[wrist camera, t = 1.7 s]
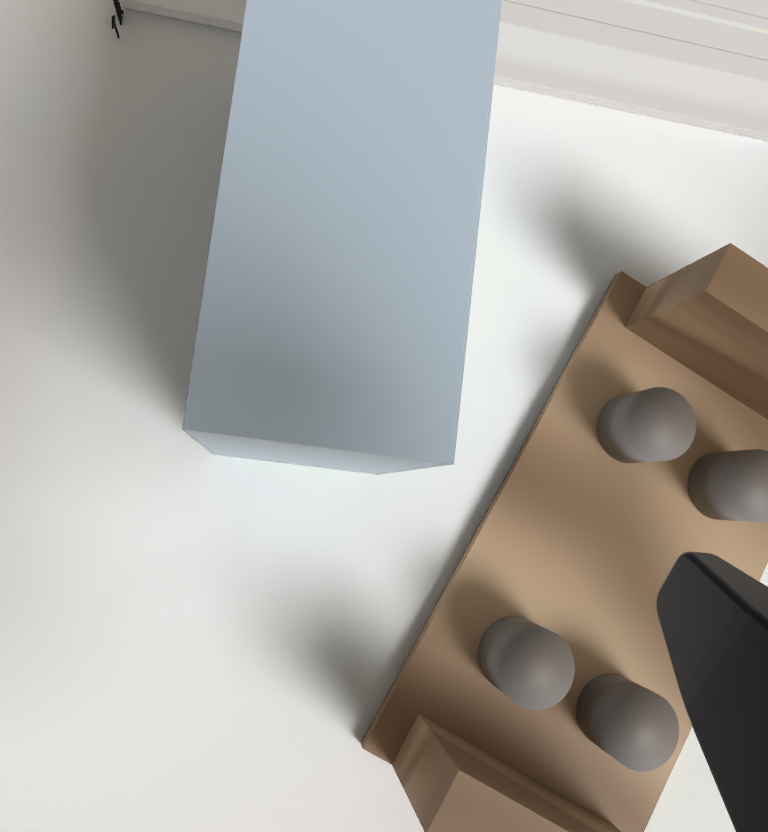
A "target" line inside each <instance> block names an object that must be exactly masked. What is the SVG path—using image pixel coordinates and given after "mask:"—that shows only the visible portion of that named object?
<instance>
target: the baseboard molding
mask: <svg viewBox="0 0 768 832" xmlns="http://www.w3.org/2000/svg"><path fill="white" fill-rule="evenodd" d="M113 1H114V5H115V9H116V12H117V16H118V17H119V18H118V19H119V21H120V25H121V24H122V18H123V16H122V15H121V14H123V10H121V7H120V3H119V2H118V0H113ZM246 2H247V0H123V4H124V8H128V9H133V10H138V11H143V12H148V13H152V14H157V15H162V16H167V17H172V18H176V19H181V20H186V21H191V22H196V23H201V24H205V25H210V26H215V27H220V28H225V29H229V30H234V31H239V32H242V29H243V22H244V16H245V9H246ZM115 17H116V15H113V16H112V29H114V27H115V30H116V33H117V37H118V38H120V37H119V34H118V30H117V27H116V24H115ZM493 84H494V85H499V86H504V87H509V88H514V89H518V90H523V91H528V92H533V93H538V94H542V95H547V96H552V97H557V98H562V99H567V100H571V101H576V102H581V103H586V104H591V105H595V106H600V107H605V108H610V109H615V110H620V111H624V112H629V113H634V114H639V115H644V116H648V117H653V118H658V119H663V120H668V121H672V122H677V123H682V124H687V125H692V126H697V127H701V128H706V129H711V130H716V131H721V132H725V133H730V134H735V135H740V136H745V137H750V138H754V139H759V140H764V141H768V0H502V5H501V15H500V24H499V34H498V44H497V53H496V63H495V72H494V82H493Z"/></svg>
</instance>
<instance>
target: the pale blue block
mask: <svg viewBox="0 0 768 832" xmlns="http://www.w3.org/2000/svg"><path fill="white" fill-rule="evenodd" d="M501 5H502V0H247V2H246V9H245V16H244V22H243V29H242V36H241V42H240V49H239V56H238V62H237V69H236V75H235V82H234V89H233V95H232V102H231V109H230V115H229V122H228V129H227V135H226V142H225V149H224V155H223V162H222V168H221V175H220V182H219V188H218V195H217V202H216V208H215V215H214V222H213V228H212V235H211V242H210V248H209V255H208V261H207V268H206V275H205V281H204V288H203V295H202V301H201V308H200V315H199V321H198V328H197V335H196V341H195V348H194V354H193V361H192V368H191V374H190V381H189V388H188V394H187V401H186V408H185V414H184V421H183V428H182V430H184V431H185V432H186V433H187V434H189V435H190V436H191V437H192V438H194V439H195V440H196V441H197V442H199V443H200V444H201V445H202V446H204V447H205V448H206V449H207V450H208V451H210V452H211V453H212V454H214V455H222V456H231V457H239V458H247V459H255V460H263V461H271V462H279V463H287V464H295V465H304V466H312V467H320V468H328V469H336V470H344V471H352V472H360V473H368V474H377V475H379V474H386V473H393V472H400V471H408V470H415V469H422V468H429V467H436V466H444V465H451V464H454V457H455V448H456V438H457V428H458V419H459V409H460V399H461V390H462V380H463V371H464V361H465V351H466V342H467V332H468V323H469V313H470V303H471V294H472V284H473V274H474V265H475V255H476V246H477V236H478V226H479V217H480V207H481V197H482V188H483V178H484V169H485V159H486V149H487V140H488V130H489V121H490V111H491V101H492V92H493V82H494V72H495V63H496V53H497V44H498V34H499V24H500V15H501Z"/></svg>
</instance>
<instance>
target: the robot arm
mask: <svg viewBox="0 0 768 832" xmlns="http://www.w3.org/2000/svg"><path fill="white" fill-rule="evenodd" d="M656 609H657V615H658V618H659V622H660V625H661V629H662V632H663V635H664V639H665V642H666V646H667V649H668V652H669V656H670V659H671V663H672V666H673V670H674V673H675V676H676V680H677V683H678V687H679V690H680V693H681V696H682V699H683V702H684V705H685V708H686V711H687V714H688V716H689V719H690V722H691V724H692V727H693V729H694V732H695V734H696V736H697V739H698V741H699V744H700V746H701V748H702V751H703V753H704V756H705V758H706V761H707V763H708V765H709V768H710V770H711V773H712V775H713V777H714V780H715V782H716V785H717V787H718V789H719V792H720V794H721V797H722V799H723V801H724V804H725V806H726V809H727V811H728V814H729V816H730V818H731V821H732V823H733V826H734V828H735V830H736V832H768V587H767V586H765V585H764V584H762V583H760V582H759V581H757V580H756V579H754V578H752V577H751V576H749V575H747V574H746V573H744V572H743V571H741V570H739V569H738V568H736V567H734V566H733V565H731V564H730V563H728V562H726V561H725V560H723V559H721V558H720V557H718V556H716V555H714V554H710V553H701V552H691V551H688V552H684V553H682V554H681V555H680V556H679V557H678V558H677V560H676V562H675V564H674V565H673V567H672V569H671V570H670V572H669V574H668V576H667V577H666V579H665V581H664V583H663V584H662V586H661V588H660V590H659V592H658V595H657V600H656Z"/></svg>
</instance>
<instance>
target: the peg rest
mask: <svg viewBox="0 0 768 832" xmlns="http://www.w3.org/2000/svg"><path fill="white" fill-rule="evenodd" d="M688 551H691V552H701V553H710V554H714V555H716V556H718V557H720V558H721V559H723V560H725V561H726V562H728V563H730V564H731V565H733V566H734V567H736V568H738V569H739V570H741V571H743V572H744V573H746V574H747V575H749V576H751V577H752V578H754V579H756V580H757V581H759V580H760V578H761V576H762V574H763V572H764V569H765V567H766V565H767V563H768V268H767V267H765V266H764V265H762V264H761V263H759V262H758V261H756V260H755V259H753V258H752V257H750V256H749V255H747V254H746V253H744V252H743V251H741V250H740V249H739V248H737V247H736V246H734V245H733V244H731V243H730V244H728V245H726V246H724V247H722V248H720V249H718V250H717V251H715V252H713V253H711V254H709V255H707V256H705V257H703V258H701V259H699V260H698V261H696V262H694V263H692V264H690V265H688V266H686V267H684V268H682V269H680V270H678V271H677V272H675V273H673V274H671V275H669V276H667V277H665V278H663V279H661V280H659V281H658V282H656V283H654V284H652V285H650V286H648V287H645V286H643V285H642V284H640V283H639V282H637V281H636V280H634V279H633V278H631V277H630V276H628V275H626V274H625V273H623V272H622V271H621V272H620V273H618V274H616V275H615V277H614V279H613V281H612V283H611V284H610V286H609V288H608V290H607V292H606V294H605V295H604V297H603V299H602V301H601V303H600V305H599V306H598V308H597V310H596V312H595V314H594V316H593V317H592V319H591V321H590V323H589V325H588V327H587V329H586V330H585V332H584V334H583V336H582V338H581V340H580V341H579V343H578V345H577V347H576V349H575V351H574V352H573V354H572V356H571V358H570V360H569V362H568V363H567V365H566V367H565V369H564V371H563V373H562V374H561V376H560V378H559V380H558V382H557V384H556V386H555V387H554V389H553V391H552V393H551V395H550V397H549V398H548V400H547V402H546V404H545V406H544V408H543V409H542V411H541V413H540V415H539V417H538V419H537V420H536V422H535V424H534V426H533V428H532V430H531V431H530V433H529V435H528V437H527V439H526V441H525V443H524V444H523V446H522V448H521V450H520V452H519V454H518V455H517V457H516V459H515V461H514V463H513V465H512V466H511V468H510V470H509V472H508V474H507V476H506V477H505V479H504V481H503V483H502V485H501V487H500V488H499V490H498V492H497V494H496V496H495V498H494V500H493V501H492V503H491V505H490V507H489V509H488V511H487V512H486V514H485V516H484V518H483V520H482V522H481V523H480V525H479V527H478V529H477V531H476V533H475V534H474V536H473V538H472V540H471V542H470V544H469V545H468V547H467V549H466V551H465V553H464V555H463V557H462V558H461V560H460V562H459V564H458V566H457V568H456V569H455V571H454V573H453V575H452V577H451V579H450V580H449V582H448V584H447V586H446V588H445V590H444V591H443V593H442V595H441V597H440V599H439V601H438V602H437V604H436V606H435V608H434V610H433V612H432V613H431V615H430V617H429V619H428V621H427V623H426V625H425V626H424V628H423V630H422V632H421V634H420V636H419V637H418V639H417V641H416V643H415V645H414V647H413V648H412V650H411V652H410V654H409V656H408V658H407V659H406V661H405V663H404V665H403V667H402V669H401V670H400V672H399V674H398V676H397V678H396V680H395V682H394V683H393V685H392V687H391V689H390V691H389V693H388V694H387V696H386V698H385V700H384V702H383V704H382V705H381V707H380V709H379V711H378V713H377V715H376V716H375V718H374V720H373V722H372V724H371V726H370V727H369V729H368V731H367V733H366V735H365V737H364V739H363V740H362V742H361V745H362V748H363V749H365V750H367V751H369V752H370V753H372V754H374V755H376V756H377V757H379V758H381V759H383V760H385V761H386V762H388V763H390V764H392V766H393V768H394V770H395V772H396V774H397V776H398V778H399V780H400V782H401V784H402V786H403V788H404V790H405V792H406V794H407V796H408V798H409V800H410V802H411V805H412V807H413V809H414V811H415V813H416V815H417V817H418V819H419V821H420V823H421V825H422V827H423V829H424V831H425V832H644V830H645V828H646V826H647V824H648V821H649V819H650V817H651V815H652V813H653V811H654V808H655V806H656V804H657V802H658V800H659V798H660V795H661V793H662V791H663V789H664V787H665V785H666V782H667V780H668V778H669V776H670V774H671V772H672V769H673V767H674V765H675V763H676V761H677V758H678V756H679V754H680V752H681V750H682V748H683V745H684V743H685V741H686V739H687V737H688V735H689V732H690V730H691V728H692V724H691V722H690V719H689V716H688V714H687V711H686V708H685V705H684V702H683V699H682V696H681V693H680V690H679V687H678V683H677V680H676V676H675V673H674V670H673V666H672V663H671V659H670V656H669V652H668V649H667V646H666V642H665V639H664V635H663V632H662V629H661V625H660V622H659V618H658V615H657V609H656V600H657V595H658V592H659V590H660V588H661V586H662V584H663V583H664V581H665V579H666V577H667V576H668V574H669V572H670V570H671V569H672V567H673V565H674V564H675V562H676V560H677V558H678V557H679V556H680V555H681V554H682V553H684V552H688Z"/></svg>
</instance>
